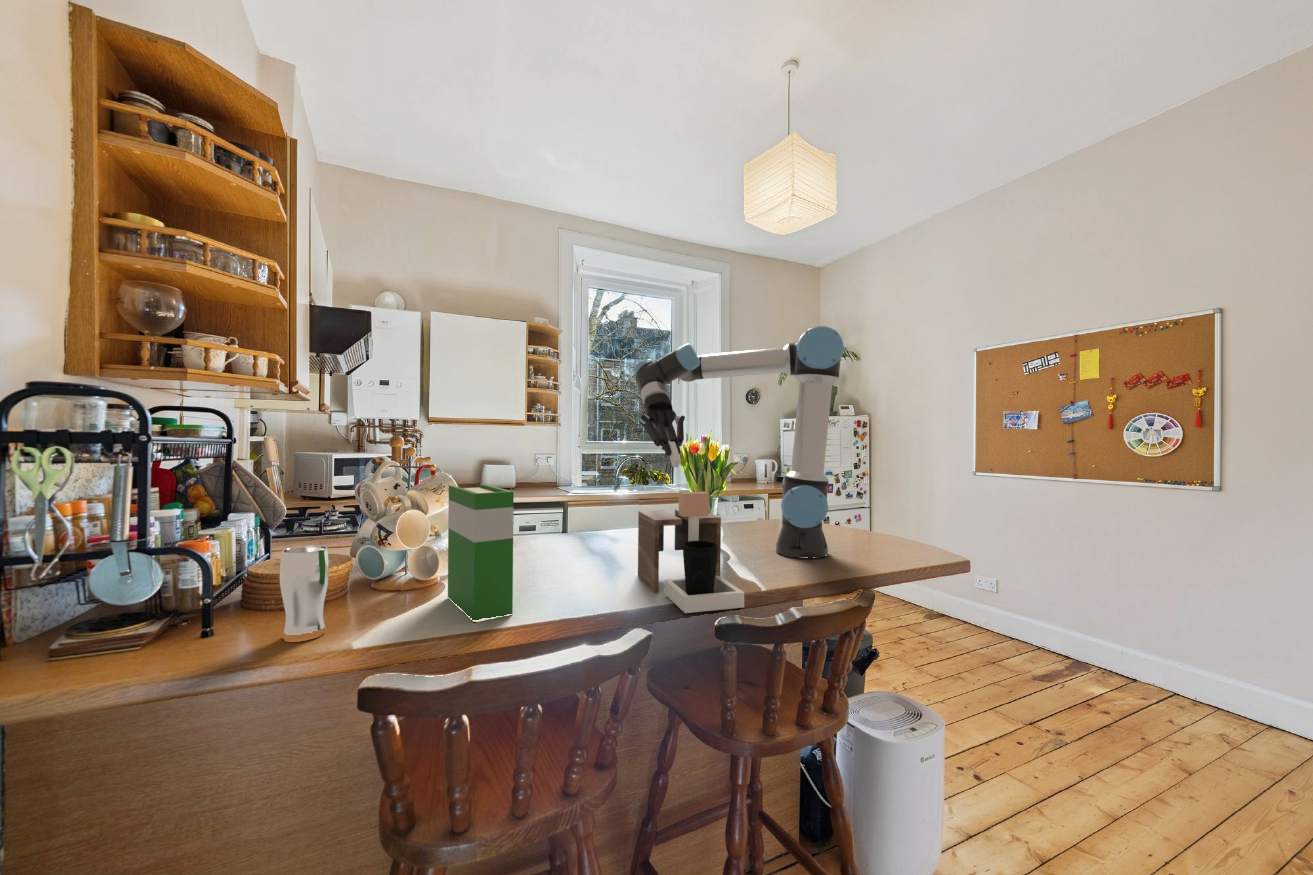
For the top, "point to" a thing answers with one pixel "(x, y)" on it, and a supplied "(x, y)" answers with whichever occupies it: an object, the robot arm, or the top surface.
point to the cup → (700, 566)
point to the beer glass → (304, 587)
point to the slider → (727, 593)
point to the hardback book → (481, 550)
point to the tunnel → (654, 540)
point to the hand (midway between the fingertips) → (676, 463)
